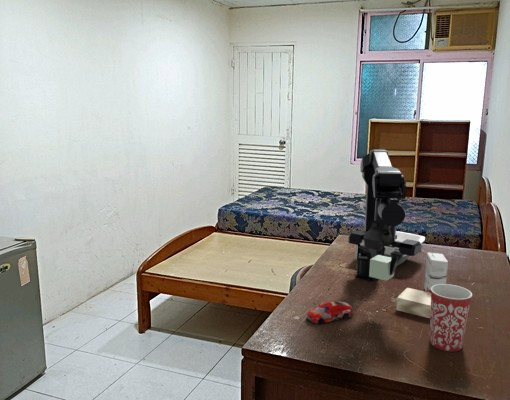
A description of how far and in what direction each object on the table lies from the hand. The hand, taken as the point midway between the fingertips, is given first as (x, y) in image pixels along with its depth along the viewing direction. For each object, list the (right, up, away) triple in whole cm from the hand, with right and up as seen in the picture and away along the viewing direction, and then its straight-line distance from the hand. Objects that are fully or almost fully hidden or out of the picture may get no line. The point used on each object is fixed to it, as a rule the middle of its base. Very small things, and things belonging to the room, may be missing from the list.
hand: (381, 272), depth 126 cm
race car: (-15, -12, -3) cm, 19 cm away
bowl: (+15, -3, +46) cm, 48 cm away
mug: (+11, -14, -15) cm, 24 cm away
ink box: (+20, -9, +14) cm, 26 cm away
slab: (+11, -11, +3) cm, 16 cm away
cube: (0, -1, 0) cm, 1 cm away
